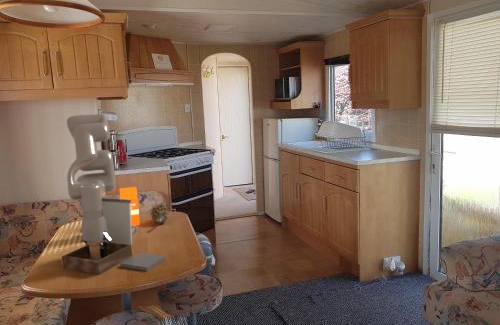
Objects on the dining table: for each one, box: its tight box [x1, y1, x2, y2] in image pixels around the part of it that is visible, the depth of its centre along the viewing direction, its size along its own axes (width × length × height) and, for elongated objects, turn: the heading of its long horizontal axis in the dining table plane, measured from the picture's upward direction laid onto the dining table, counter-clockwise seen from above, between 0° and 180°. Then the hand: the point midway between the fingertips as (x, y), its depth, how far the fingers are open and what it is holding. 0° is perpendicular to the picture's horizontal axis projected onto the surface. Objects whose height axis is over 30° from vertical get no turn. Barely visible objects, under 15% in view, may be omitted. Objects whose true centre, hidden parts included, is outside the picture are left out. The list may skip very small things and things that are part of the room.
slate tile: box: [119, 252, 166, 272], centre depth 166 cm, size 13×12×2 cm
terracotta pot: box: [88, 242, 105, 261], centre depth 168 cm, size 7×7×12 cm
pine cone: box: [150, 203, 169, 225], centre depth 216 cm, size 22×10×10 cm, turn 14°
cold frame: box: [61, 242, 133, 275], centre depth 169 cm, size 19×19×5 cm
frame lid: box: [102, 197, 133, 245], centre depth 176 cm, size 19×19×1 cm
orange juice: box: [119, 186, 141, 226], centre depth 219 cm, size 8×9×20 cm
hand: (97, 255), depth 169 cm, fingers closed on terracotta pot, 6 cm apart
